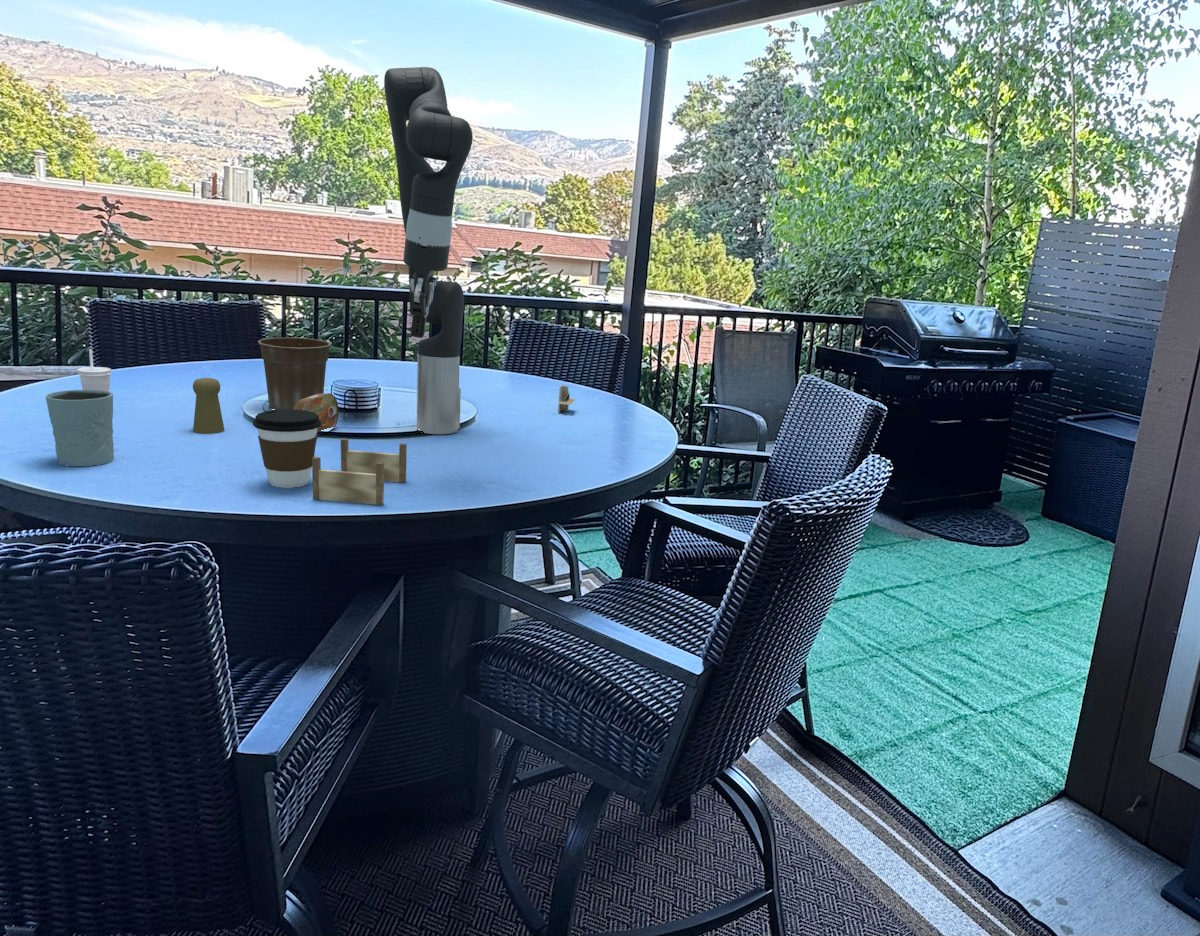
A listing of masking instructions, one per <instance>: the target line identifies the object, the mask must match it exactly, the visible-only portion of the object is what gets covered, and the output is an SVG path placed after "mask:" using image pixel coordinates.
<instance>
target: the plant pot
mask: <svg viewBox="0 0 1200 936" xmlns="http://www.w3.org/2000/svg"><path fill="white" fill-rule="evenodd" d="M257 343H258V345H260V346H259V347H260V352H261V359H262V360H263V365H264V366H263V367H264V374H265V382H266V383H265V384H266V389H267V390H266V391H267V399H268V408H269V407H270V408H271V409H275V410H285V409H288V410H293V409H294V406H295V404H296V403H297V402H298V401H299V400H301V399H304V398H307V397H310V396H313V395H316V394H320V393H323V394H325V391H324V390H325V379H326V370H327V369H326V368H327V362H328V360H329V353H330V348H331V346H332V343H331V342H329V341H326V340H322V339H315V338H308V337H305V338H304V337H269V338H268V337H267V338H262V339H258V341H257ZM270 408H269V409H270ZM271 409H270V410H271Z"/></svg>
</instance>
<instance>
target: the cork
mask: <svg viewBox="0 0 1200 936" xmlns="http://www.w3.org/2000/svg"><path fill="white" fill-rule="evenodd" d="M192 390H193V392H194V393H195V406H194V416H193V426H192V431H193V432H194V434H195V433H196V434H204V435H205V434H206V435H207V434H209V435H213V434H220V433H223V432H225V424H224V420H223V415H222V409H221V404H220V397H219V393H220V392H221V383H220V382H219V380H217V378H212V377H202V378H196V379H195V380H194V381H193V384H192Z"/></svg>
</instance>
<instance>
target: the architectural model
mask: <svg viewBox="0 0 1200 936" xmlns="http://www.w3.org/2000/svg"><path fill="white" fill-rule="evenodd" d="M558 389H559V392H558V409H557V414H558V415H559V414H560V413H561V412H568V411H569V407H570V406H571V405H572V404H573V403H574V402H575V398H570V394H571V393H570V392H569V386H568V385H567V386H566V385H564V383H562V384H561V385H560V386H559V388H558Z"/></svg>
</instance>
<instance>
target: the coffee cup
mask: <svg viewBox="0 0 1200 936" xmlns="http://www.w3.org/2000/svg"><path fill="white" fill-rule="evenodd" d="M254 417H255V419H253V421H252V426H253V427H254V428H256V429H257V433H258V436H257V438H258V443H259V446H260V453H261V457H262V462H263V466H264V468H265V470H266V471H265V472H266V477H267V480H268V482H269V484H270V485H271V486H272V485H274V486H277V487H276V488H278V487H283V488H282V489H295V488H294V487H298V488H301V487H300V486H302V487H304V485H305V486H307V485H308V483H309V481H310V480H311V473H312V458H313V457H315V452H316V447H317V446H316V445H317V439H318V437H317V434H316V433H317V428H318V427H320V426H321V420H320V419H319V416H318V415H317V414H316V413H313V412H310V411H304V410H288V409H285V410H271V409H270V410H265V411H262V412H259V413H257V415H255V416H254ZM306 484H307V485H306ZM274 486H273V487H274ZM292 487H293V488H292Z"/></svg>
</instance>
